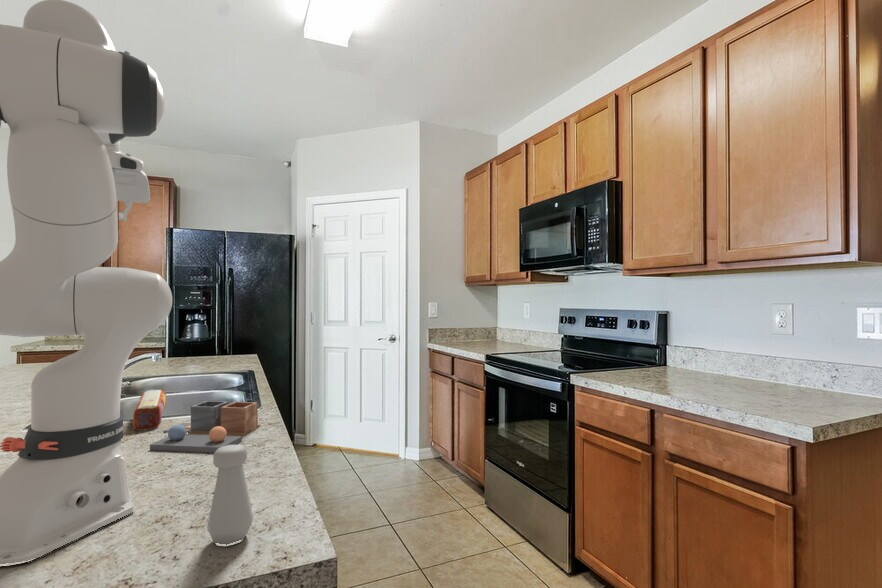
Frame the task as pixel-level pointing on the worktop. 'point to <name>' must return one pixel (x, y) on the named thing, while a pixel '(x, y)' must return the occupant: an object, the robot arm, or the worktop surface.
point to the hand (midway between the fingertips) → (97, 218)
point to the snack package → (149, 410)
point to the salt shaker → (230, 497)
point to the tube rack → (224, 417)
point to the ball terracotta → (217, 434)
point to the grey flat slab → (194, 443)
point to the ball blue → (176, 433)
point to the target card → (185, 425)
